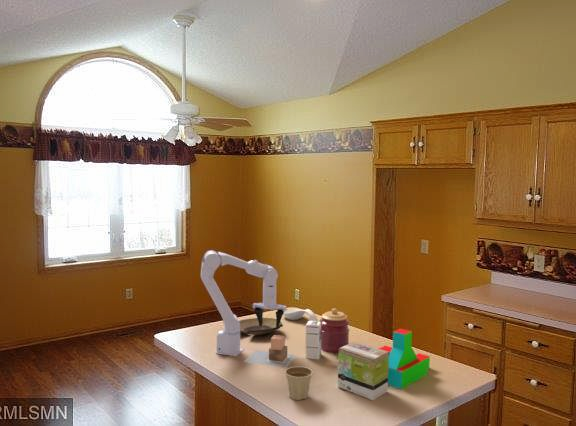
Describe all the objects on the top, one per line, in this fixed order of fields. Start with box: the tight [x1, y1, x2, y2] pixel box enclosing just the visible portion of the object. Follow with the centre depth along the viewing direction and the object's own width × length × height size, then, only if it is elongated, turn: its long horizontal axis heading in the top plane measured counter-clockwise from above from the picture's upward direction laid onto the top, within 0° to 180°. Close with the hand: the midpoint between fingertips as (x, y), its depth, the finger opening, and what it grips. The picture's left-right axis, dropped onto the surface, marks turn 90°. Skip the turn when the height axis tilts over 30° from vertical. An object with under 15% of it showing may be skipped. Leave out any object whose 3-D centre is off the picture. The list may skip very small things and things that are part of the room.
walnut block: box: [268, 345, 288, 362], centre depth 202 cm, size 6×6×4 cm
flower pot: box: [284, 366, 314, 401], centre depth 169 cm, size 9×9×9 cm
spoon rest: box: [282, 308, 319, 321], centre depth 256 cm, size 24×12×7 cm, turn 38°
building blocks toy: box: [378, 328, 431, 390], centre depth 191 cm, size 19×25×18 cm
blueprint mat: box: [243, 349, 297, 368], centre depth 203 cm, size 18×14×1 cm
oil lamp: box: [238, 317, 284, 336], centre depth 237 cm, size 22×30×8 cm
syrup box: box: [305, 320, 322, 360], centre depth 205 cm, size 6×6×14 cm
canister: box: [319, 307, 350, 354], centre depth 216 cm, size 13×13×18 cm
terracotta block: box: [270, 334, 286, 350], centre depth 202 cm, size 4×4×4 cm
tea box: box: [337, 341, 389, 401], centre depth 174 cm, size 15×10×15 cm, turn 48°
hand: (269, 326), depth 212 cm, fingers open, 7 cm apart
